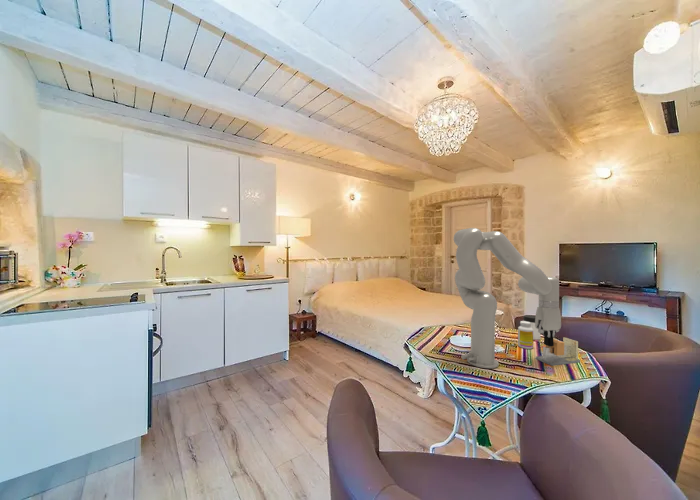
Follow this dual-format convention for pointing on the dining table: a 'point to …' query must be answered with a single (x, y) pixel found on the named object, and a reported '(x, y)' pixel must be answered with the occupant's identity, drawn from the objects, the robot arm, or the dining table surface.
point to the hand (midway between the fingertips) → (548, 345)
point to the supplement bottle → (525, 335)
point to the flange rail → (567, 358)
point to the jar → (532, 326)
